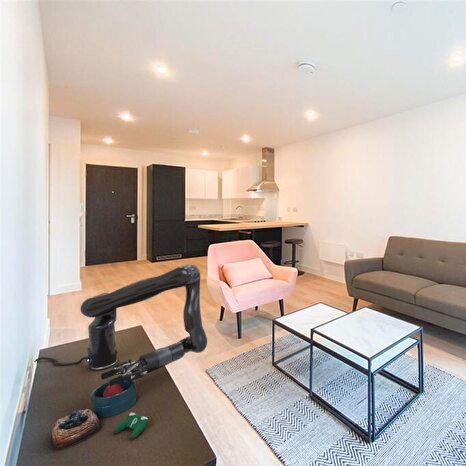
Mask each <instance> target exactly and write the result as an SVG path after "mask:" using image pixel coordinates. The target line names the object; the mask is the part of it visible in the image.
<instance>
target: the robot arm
mask: <svg viewBox="0 0 466 466" xmlns="http://www.w3.org/2000/svg"><path fill="white" fill-rule="evenodd" d="M179 288H185V302H184V306H183V312H182V313H183V314H182V315H183V316H182V317H183V327H184V330H185V332H186V333H187V334H188V335H189V336H186V337H184V338H182V339H180V340H178V341H177V342H175V343H172V344H169V345H167V346H164V347H160V348H157V349H154V350H152V351H148V352H147V353H144V354H141V355H140V356H139V359H138V360H133V361H132V359H131V358H129V359H126V360H124V361H122V362H119V363H118V353H119V352H118V351H117V339H116V338H117V336H116V321H117V309H118V308H122V307H123V308H124V307H126V306H131V305H135V304H138V303H142V302H145V301H148V300H150V299H152V298H155V297H157V296H158V295H160V294H162V293H164V292H167V291H170V290H175V289H179ZM200 295H201V270H200V268H199V267H198V266H197V265H195V264H191V263H190V264H189V263H188V264H185V265H180V266H177V267H176V268H173V269H171V270H170V271H167V272H165V273H162V274H160V275H157V276H150V277H146V278H144V279H139V280H136V281H134V282H131V283H129V284H127V285H124V286H122V287H120V288H117V289H115V290H113V291H111V292H102V293H99V294H95V295H93V296H90V297H88V298H87V299H85V300H84V301H83V302H82V303H81V305H80V308H79V309H80V313H81V314H82V315H83V316H84V317H86V318H94V319H93V320H92V321H91V322H90V323H89V324H88V326H87V331H88V332H87V333H88V343H89V345H88V346H89V347H87V355H86V356H84V357H82V358H80V359H79V360H78V361H74V362H67V363H66V362H63V363H62V362H57V359H56V358H52V357H48V356H47V357H46V356H42V357H40V356H39V357H37V358H35V360H34V363H36V362H38V361H40V360H45V361H46V360H47V361H51V362H53V364H54V365H55V366H73V365H78V364H81V363H82V362H83V360H86V362H88V368H89V369H91V370H92V371H101V370H105V369H108V368H112V367H113V368H112V369H110V370H107V371H105V372H102V373H101V374H100V379H101V380H103V381H104V380H106V379H109V378H111V377H113V378H111V379H109V380H108V382H109V385H110V386H113V385H115V384H117V383H120V382H122V381H123V382H125V381H127V382H131V381H134V380H135V381H137V380H139V379H141V378H144V377H146V376H147V375H148V374H150V373H153V372H154V371H157V370H159V369H162V368H164V367H166V366H168V365H169V364H172V363H174V362H176V361H178V360H181V359H183V358H184V357H185V354H188V353H190V352H191V353H196V354H200V353H202V352H204V351H205V350H206V348H207V347H208V337H207V335H206V331H205V328H204V326H203V319H202V313H201V296H200ZM117 375H118V376H117ZM114 376H115V377H114Z"/></svg>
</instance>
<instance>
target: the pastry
mask: <svg viewBox="0 0 466 466" xmlns="http://www.w3.org/2000/svg"><path fill="white" fill-rule="evenodd" d="M99 430H100V420H99V417H97V416H96V414H95V413H94V412H93V409H92V408H86V409H78V410H73V411H72V412H71V413H70V414H69V415H66V416H65V417H61V418H58V420H55V421H53V427H52V428H51V440H52V445H53V447H54V449H56V450H61V449H65V448H69V447H71V446H74V445H76V444H79V443H81V442H83V441H84V440H86V439H88V438H90V437H92V436H93V435H94V434H96V433H98V432H99Z"/></svg>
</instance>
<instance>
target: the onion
mask: <svg viewBox="0 0 466 466" xmlns="http://www.w3.org/2000/svg"><path fill="white" fill-rule="evenodd" d="M121 392H123V387H122V386H121V385H119V384H115V385H113V386H110V385H108V387H107V388H106V389H105V391H104V393H103V397H109V396H113V395H116V394H119V393H121Z"/></svg>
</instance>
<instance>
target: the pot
mask: <svg viewBox="0 0 466 466" xmlns="http://www.w3.org/2000/svg"><path fill="white" fill-rule="evenodd" d="M136 383H137V382H136V380H134V381H131V382H127V381H125V382H123V381H122V382H120V383H117V384H119V385H121V386H122V387H123V392H121V393H119V394H116V395H113V396H109V397H103V393H104V391H105V389H106V388H107V387H108V385H109V381H106V382H105V383H102V384H100V385H98V386H97V387H96V388H95V389H94V390H93V391H92V392H91V409H92V411H93V412H94V413H95V414H96V416H97V417H98V419H99V418H103V419H104V418H110V417H113V416H116V415H119V414H121V413H123V412H125V411H127V410H129V409H130V408H131V407H133V406H134V404H136V402H137V385H136Z"/></svg>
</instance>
